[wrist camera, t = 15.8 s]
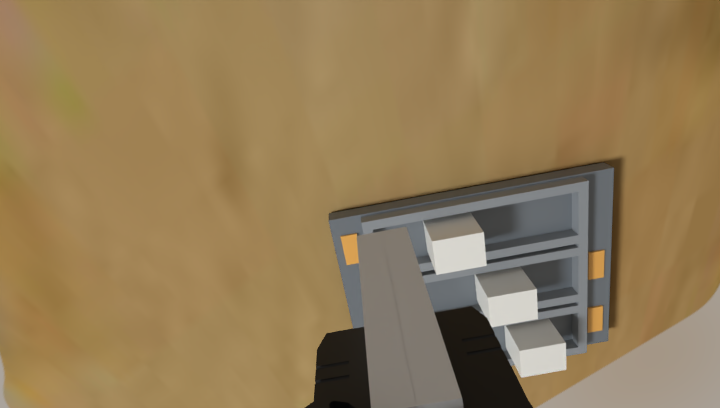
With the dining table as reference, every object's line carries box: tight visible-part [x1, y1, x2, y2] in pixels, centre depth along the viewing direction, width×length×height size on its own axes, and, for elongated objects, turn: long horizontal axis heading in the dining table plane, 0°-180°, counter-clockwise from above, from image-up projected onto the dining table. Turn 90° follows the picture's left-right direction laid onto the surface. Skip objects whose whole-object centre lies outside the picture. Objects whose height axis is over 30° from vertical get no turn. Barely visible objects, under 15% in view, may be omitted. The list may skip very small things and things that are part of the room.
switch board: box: [329, 162, 614, 366], centre depth 41 cm, size 18×24×3 cm
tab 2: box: [474, 266, 538, 327], centre depth 39 cm, size 3×4×4 cm
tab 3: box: [504, 318, 566, 377], centre depth 41 cm, size 3×4×4 cm
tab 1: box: [423, 212, 487, 275], centre depth 37 cm, size 3×4×4 cm
